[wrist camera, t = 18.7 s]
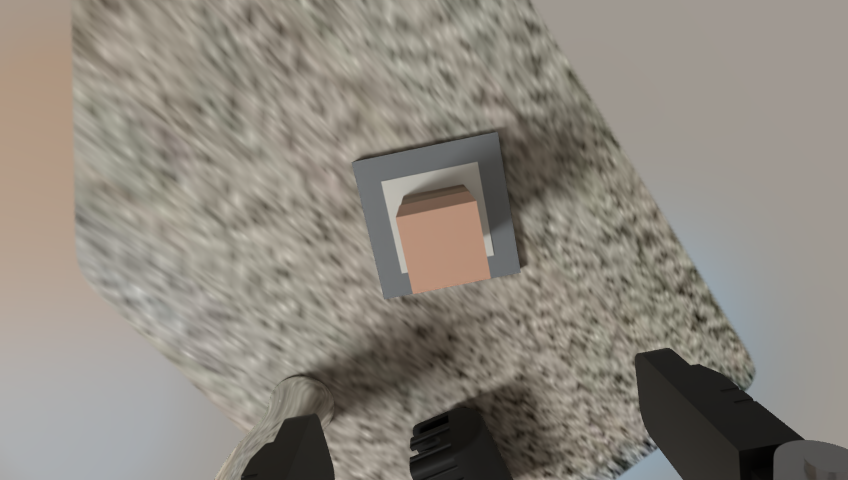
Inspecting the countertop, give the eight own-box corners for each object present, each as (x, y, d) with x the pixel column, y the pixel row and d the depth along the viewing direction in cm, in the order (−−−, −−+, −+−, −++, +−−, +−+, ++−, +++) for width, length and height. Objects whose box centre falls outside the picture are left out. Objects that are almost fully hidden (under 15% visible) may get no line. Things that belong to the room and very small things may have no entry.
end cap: (517, 475, 45) (533, 534, 38) (451, 502, 45) (456, 564, 39) (476, 393, 43) (487, 441, 36) (408, 422, 43) (406, 473, 37)
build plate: (353, 161, 38) (351, 162, 37) (495, 131, 37) (497, 131, 36) (385, 295, 40) (384, 299, 39) (518, 269, 40) (520, 272, 39)
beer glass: (350, 386, 42) (312, 519, 28) (324, 446, 44) (275, 603, 29) (279, 360, 42) (202, 482, 27) (255, 422, 43) (170, 569, 28)
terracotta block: (399, 205, 32) (395, 217, 27) (468, 190, 32) (476, 200, 27) (414, 270, 33) (413, 294, 29) (480, 257, 33) (490, 278, 28)
